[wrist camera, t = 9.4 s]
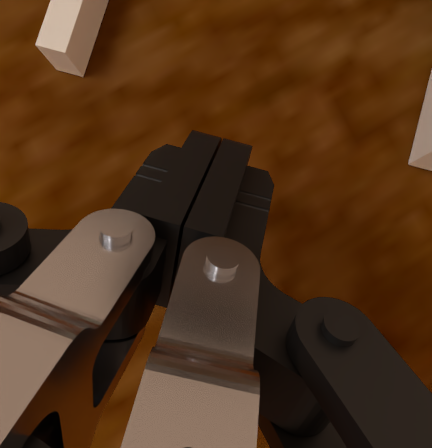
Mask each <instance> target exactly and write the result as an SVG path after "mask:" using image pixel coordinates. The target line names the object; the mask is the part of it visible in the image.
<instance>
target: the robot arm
mask: <svg viewBox="0 0 432 448" xmlns="http://www.w3.org/2000/svg"><path fill="white" fill-rule="evenodd" d="M221 141H222V143H221ZM251 150H252V146H250V145H247V144H243V143H239V142H236V141H232V140H228V139H223V140H222V138H220V137H216V136H213V135H209V134H205V133H202V132H198V131H194V130H192V131H191V133H190V135H189V136H188V138H187V140H186V141H185V143H184V145H183V146H182V148H180V147H176V146H172V145H168V144H166V145H164V146H162V147H160V148H158V149H156V150H154V151H152V152H151V153H150V154H149V156H148V157H147V159H146V160H145V162H144V163H143V166H141V167H140V169H139V170H138V171H137V173H136V176H134V177H133V178H132V180H131V181H130V183H129V184H128V185H127V187H126V188H125V190H124V191H123V192H122V194H121V195H120V197H119V198H118V200H117V201H116V202H115V204H114V205H113V207H112V208H111V209H105V210H100V211H97V212H94V213H92V214H89V215H88V216H86V217H85V218H83V219H82V220H81V221H80V222H79V223H78V224H77V225H76V227H75V228H74V229H71V230H50V229H28V223H27V218H26V216H25V214H24V213H23V212H22V211H21V210H19V209H18V208H16V207H14V206H12V205H10V204H7V203H2V202H0V448H90V446H91V443H92V441H93V437H94V434H95V430H96V427H97V424H98V422H99V419H100V417H101V415H102V413H103V411H104V409H105V407H106V405H107V403H108V401H109V399H110V397H111V396H112V394H113V392H114V390H115V388H116V386H117V384H118V382H119V381H120V379H121V377H122V375H123V373H124V371H125V369H126V367H127V365H128V364H129V362H130V360H131V358H132V356H133V354H134V352H135V350H136V349H137V347H138V345H139V343H140V341H141V339H142V337H143V335H144V332H145V325H146V323H147V322H148V320H149V317H150V315H151V313H152V310H153V308H154V306H155V304H156V305H159V306H163V307H166V308H167V310H166V313H165V317H164V320H163V323H162V327H161V330H160V333H159V337H158V340H157V343H156V346H155V347H153V348H152V350H151V352H150V355H149V357H148V360H147V363H146V367H145V370H144V373H143V376H142V380H141V383H140V386H139V389H138V393H137V396H136V399H135V402H134V406H133V409H132V412H131V415H130V419H129V422H128V425H127V429H126V432H125V435H124V438H123V442H122V445H121V448H256V447H257V431H258V425H259V427H260V429H261V431H262V433H263V435H264V437H265V438H266V440H267V442H268V444H269V446H270V448H432V393H431V392H430V391H429V390H428V389H427V387H426V386H425V385H424V384H423V383H422V382H421V380H420V379H419V378H418V377H417V376H416V374H415V373H414V372H413V371H412V370H411V368H410V367H409V366H408V365H407V364H406V363H405V361H404V360H403V359H402V358H401V357H400V355H399V354H398V353H397V352H396V351H395V349H394V348H393V347H392V346H391V345H390V344H389V342H388V341H387V340H386V339H385V338H384V336H383V335H382V334H381V333H380V332H379V330H378V329H377V328H376V327H375V326H374V325H373V323H372V322H371V321H370V320H369V319H368V318H367V317H366V316H365V315H364V314H363V313H362V312H361V311H360V310H358V309H357V308H355V307H354V306H352V305H350V304H348V303H346V302H344V301H341V300H339V299H335V298H329V297H318V298H313V299H310V300H308V301H306V302H305V303H303V304H301V303H300V302H298V301H296V300H294V299H293V298H291V297H289V296H288V295H286V294H284V293H283V292H281V291H280V290H278V289H277V288H276V287H275V286H274V285H273V284H272V283H271V282H270V281H269V280H268V279H267V277H266V276H265V274H264V272H263V270H262V267H261V264H260V254H261V249H262V244H263V239H264V234H265V229H266V224H267V218H268V212H269V208H270V203H271V198H272V193H273V188H274V184H273V182H272V179H271V177H270V175H269V173H268V171H265V170H261V169H257V168H254V167H250V166H247V165H248V161H249V158H250V154H251Z"/></svg>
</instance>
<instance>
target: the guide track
mask: <svg viewBox="0 0 432 448" xmlns="http://www.w3.org/2000/svg"><path fill="white" fill-rule="evenodd" d="M108 1H109V0H51V1H50V3H49V6H48V9H47V12H46V15H45V18H44V21H43V24H42V27H41V30H40V32H39V35H38V38H37V41H36V44H35V45H36V46H37V48H38V49H39V50H40V51H41V52H42V53H43V55H44V56H45V57H46V58H47V59H48V60H49V62H50V63H51V64H52V65H53V66H54V67H55V68H56V70H59V71H63V72H66V73H70V74H74V75H77V76H81V77H84V74H85V71H86V68H87V65H88V62H89V58H90V55H91V52H92V49H93V46H94V43H95V40H96V37H97V34H98V31H99V28H100V25H101V22H102V19H103V16H104V13H105V10H106V7H107V4H108ZM408 165H411V166H415V167H419V168H423V169H426V170H430V171H432V70H431V74H430V78H429V82H428V86H427V90H426V94H425V98H424V102H423V106H422V110H421V114H420V118H419V122H418V126H417V130H416V134H415V138H414V142H413V147H412V151H411V155H410V159H409V163H408Z"/></svg>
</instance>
